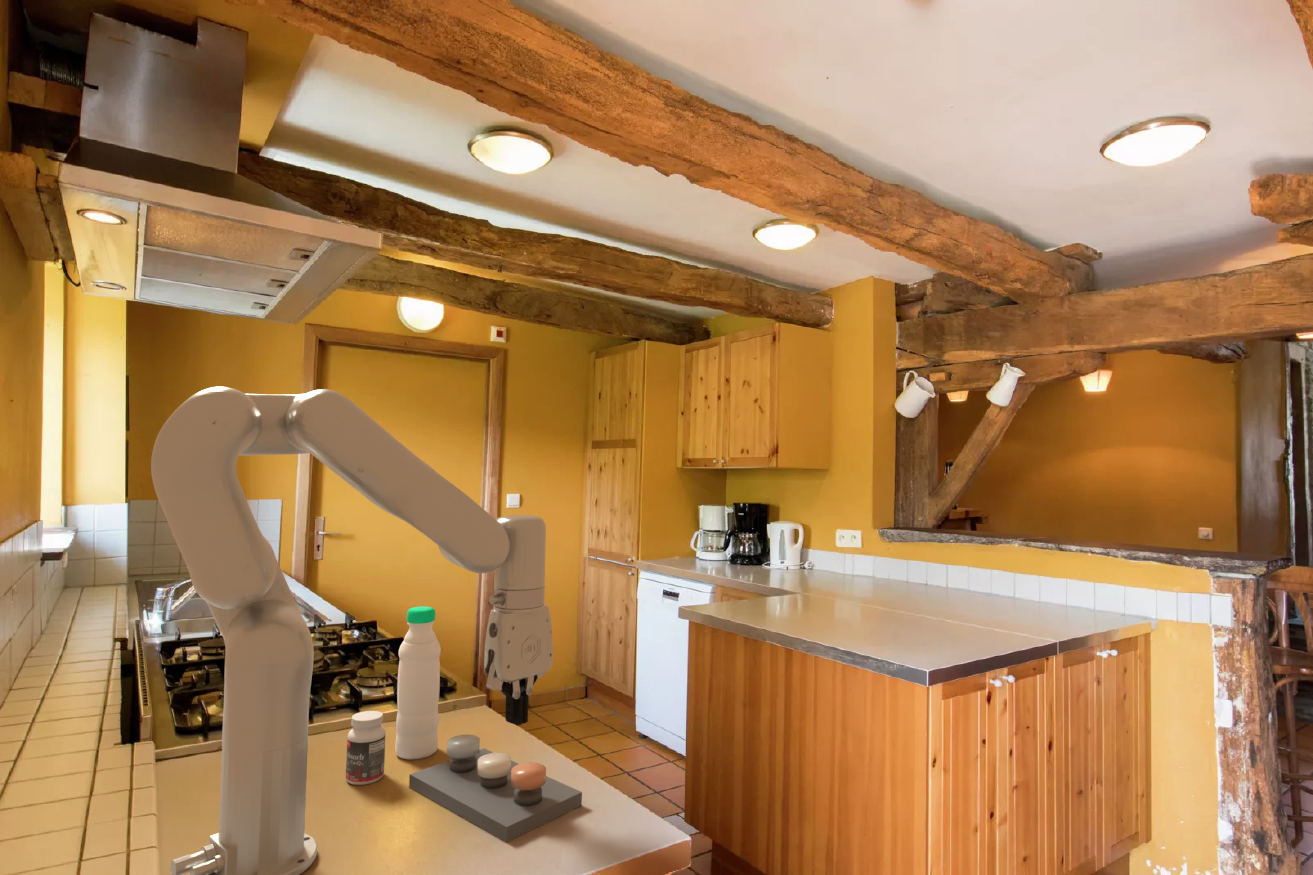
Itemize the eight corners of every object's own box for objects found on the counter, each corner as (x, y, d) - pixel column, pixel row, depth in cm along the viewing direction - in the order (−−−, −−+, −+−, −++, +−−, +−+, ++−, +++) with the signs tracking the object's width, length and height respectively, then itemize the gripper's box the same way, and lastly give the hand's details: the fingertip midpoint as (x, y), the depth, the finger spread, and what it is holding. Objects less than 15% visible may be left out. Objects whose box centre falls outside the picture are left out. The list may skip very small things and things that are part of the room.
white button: (490, 781, 106) (491, 769, 106) (470, 771, 109) (471, 759, 109) (517, 771, 110) (518, 759, 110) (497, 761, 113) (497, 750, 113)
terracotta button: (526, 793, 101) (526, 780, 101) (503, 782, 104) (504, 770, 104) (552, 781, 105) (553, 769, 105) (530, 771, 108) (530, 759, 108)
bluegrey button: (459, 761, 111) (459, 749, 111) (440, 752, 115) (441, 740, 115) (485, 751, 115) (486, 740, 115) (467, 743, 118) (467, 732, 118)
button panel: (506, 842, 97) (506, 817, 97) (409, 787, 112) (409, 765, 112) (581, 805, 107) (582, 783, 107) (483, 760, 123) (484, 740, 123)
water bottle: (424, 763, 121) (429, 613, 122) (386, 758, 122) (391, 610, 123) (444, 747, 128) (449, 605, 129) (408, 743, 129) (413, 603, 130)
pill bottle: (337, 781, 114) (339, 717, 114) (367, 767, 119) (369, 707, 119) (362, 789, 111) (365, 724, 111) (391, 775, 116) (393, 713, 116)
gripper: (495, 609, 100) (492, 743, 99) (572, 594, 111) (570, 714, 111) (462, 602, 104) (459, 730, 104) (539, 588, 116) (536, 703, 115)
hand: (516, 721), depth 107 cm, fingers closed
